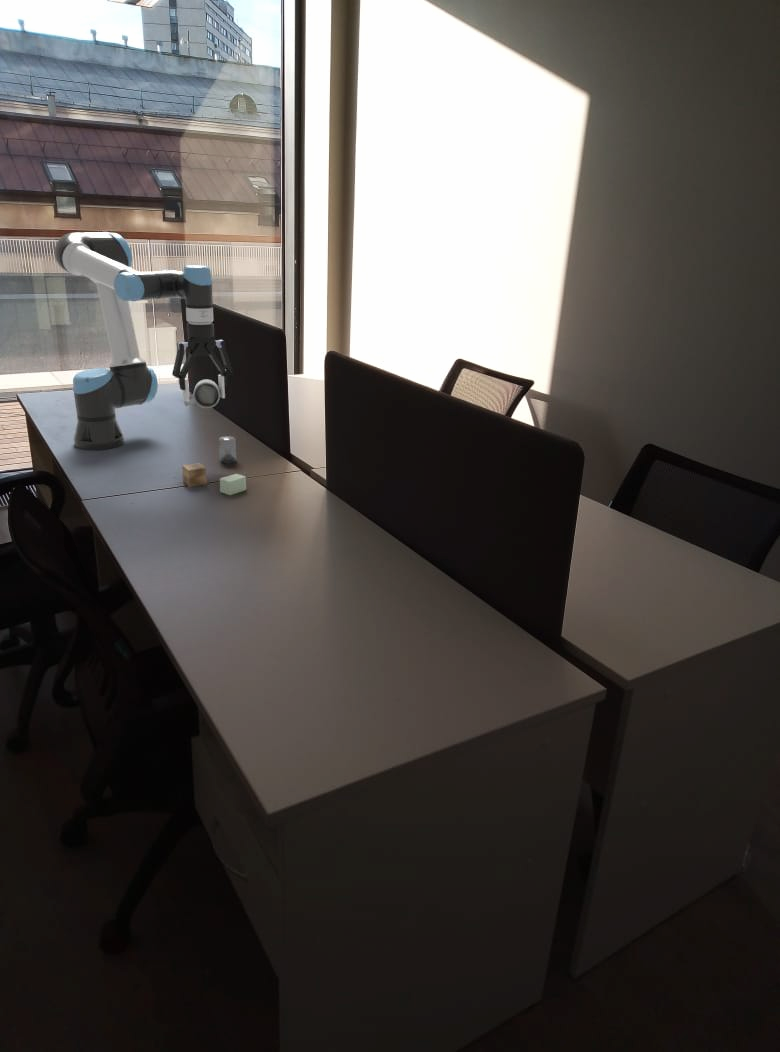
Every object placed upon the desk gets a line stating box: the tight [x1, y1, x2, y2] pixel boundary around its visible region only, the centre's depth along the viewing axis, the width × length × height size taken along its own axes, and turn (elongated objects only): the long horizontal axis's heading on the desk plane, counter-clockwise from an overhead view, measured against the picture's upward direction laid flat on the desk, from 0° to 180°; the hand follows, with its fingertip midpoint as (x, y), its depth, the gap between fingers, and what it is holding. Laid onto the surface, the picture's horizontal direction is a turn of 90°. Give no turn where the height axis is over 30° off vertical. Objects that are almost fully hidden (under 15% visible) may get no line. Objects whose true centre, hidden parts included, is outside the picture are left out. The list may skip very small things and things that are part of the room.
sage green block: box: [219, 473, 247, 496], centre depth 212 cm, size 6×4×4 cm, turn 143°
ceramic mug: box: [183, 378, 221, 409], centre depth 228 cm, size 11×8×8 cm
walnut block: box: [181, 462, 208, 488], centre depth 217 cm, size 5×5×5 cm
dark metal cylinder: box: [218, 435, 237, 464], centre depth 236 cm, size 5×5×7 cm
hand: (204, 398), depth 228 cm, fingers closed on ceramic mug, 10 cm apart
